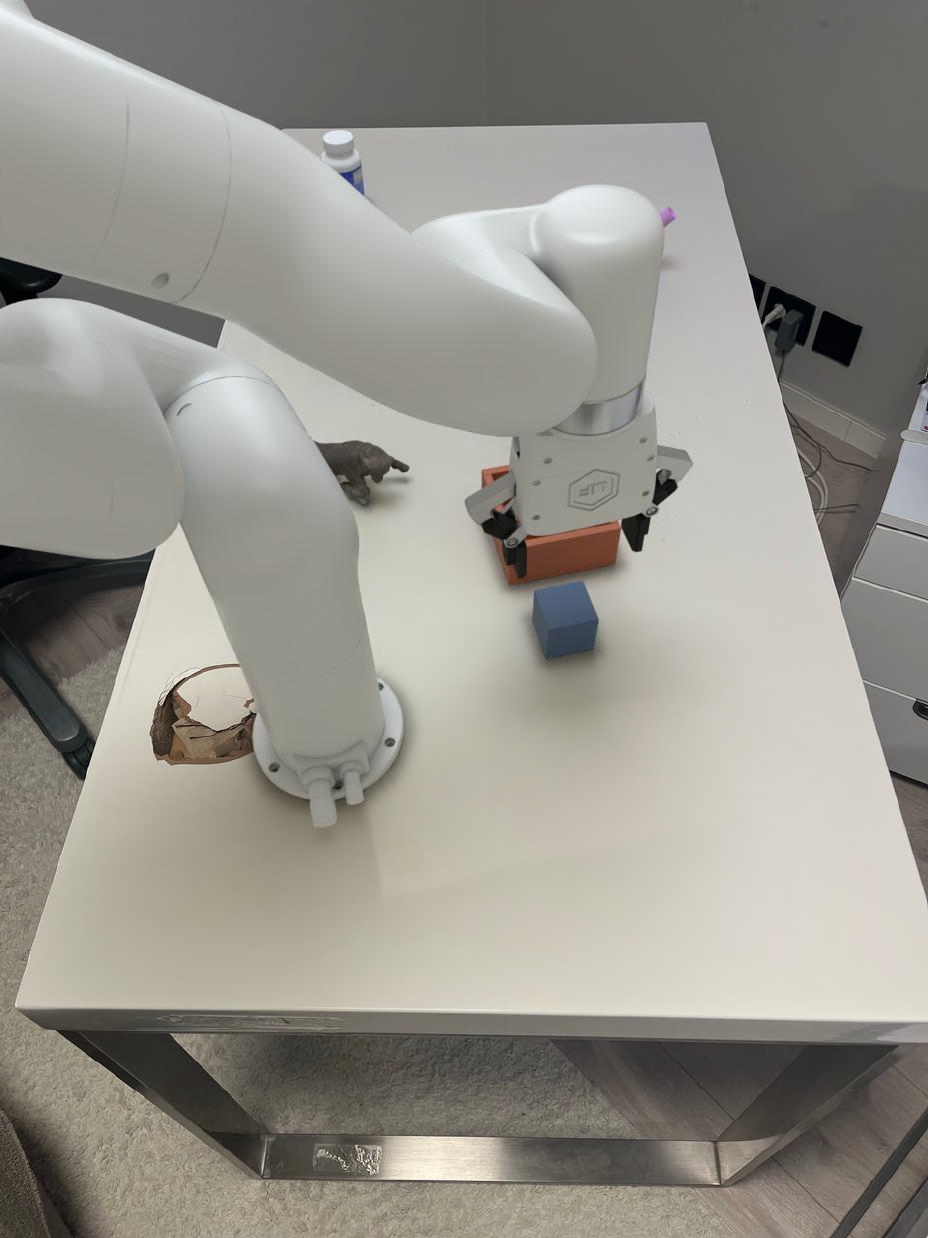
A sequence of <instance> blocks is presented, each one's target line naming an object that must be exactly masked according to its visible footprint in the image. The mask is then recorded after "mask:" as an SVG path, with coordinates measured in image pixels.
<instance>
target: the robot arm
mask: <svg viewBox="0 0 928 1238" xmlns="http://www.w3.org/2000/svg"><path fill="white" fill-rule="evenodd" d="M664 246H665V228H664V226H663V222H662V218H661V216H660V211H659V210H658V209H657V207H656V206H655V205H654V204H653V202H652V201H651V200H649V199H648V197H646V196H644V195H642V194H640V193H639V192H638V191H636V190H632V189H630V188H628V187H623V186H621V185H613V184H605V183H604V184H603V183H596V184H595V183H594V184H585V185H579V186H575V187H572V188H569V189H566V190H564V191H562V192H560V193H558V194H556V195H555V196H553V197H551V198H550V199H548V200H547V201H546V202H544V203H537V204H531V205H530V204H529V205H524V206H516V207H515V206H514V207H505V208H495V209H494V208H493V209H483V210H482V209H481V210H474V211H473V210H472V211H465V212H457V213H453V214H448V215H445V216H440V217H437V218H435V219H432V220H430V221H428V222H425V223H423V224H422V225H420V226H419V227H417V228H415V229H414V230H413V231H412V232H408V231H407V230H405V229H404V228H403V227H401V226H400V225H399V224H397V223H396V222H395V221H394V220H392V218H390V217H389V216H388V215H386V214H385V213H384V212H382V210H380V209H379V208H378V207H377V206H376V205H374V203H372V202H371V201H370V200H369V199H368V198H367V197H366V196H365V197H364V196H363V195H362V194H361V193H360V192H359V191H358V190H356V189H355V188H354V187H353V186H352V185H351V184H350V183H349V182H348V181H347V180H345V179H344V178H343V177H342V176H341V175H340V174H339V173H338V172H336V171H335V170H334V169H333V168H332V167H330V166H329V165H328V164H327V163H326V162H325V161H323V160H322V159H321V157H319V156H318V155H317V154H316V153H314V151H311V149H309V148H307V147H306V146H304V145H303V144H302V143H300V142H299V141H298V140H296V139H295V138H294V137H292V136H290V135H289V134H287V133H286V132H284V131H283V130H280V128H277V127H276V126H274V125H272V124H270V123H267V122H265V121H264V120H261V119H259V118H256V117H254V116H252V115H249V114H247V113H244V112H242V111H239V110H238V109H235V108H234V107H230V106H228V105H226V104H224V103H221V102H219V101H217V100H215V99H213V98H211V97H208V96H206V95H204V94H201V93H199V92H197V91H194V90H192V89H190V88H188V87H186V86H184V85H182V84H179V83H177V82H174V81H172V80H170V79H168V78H166V77H163V76H161V75H159V74H157V73H155V72H152V71H150V70H148V69H146V68H143V67H141V66H139V65H136V64H135V63H132V62H129V61H127V60H125V59H124V58H121V57H118V56H117V55H114V54H113V53H111V52H108V51H106V50H104V49H102V48H100V47H98V46H95V45H93V44H91V43H88V42H86V41H84V40H81V39H79V38H77V37H75V36H72V35H70V34H68V33H66V32H64V31H61V30H59V29H57V28H55V27H52V26H50V25H48V24H46V23H44V22H43V21H40V20H38V19H36V18H35V17H34V16H33V14H32V12H31V11H30V9H29V7H28V5H27V4H26V2H25V1H24V0H0V258H3V259H6V260H10V261H13V262H16V263H17V262H18V263H21V264H24V265H28V266H32V267H35V268H40V269H43V270H46V271H50V272H54V273H56V274H57V273H58V274H61V275H65V276H68V277H72V278H76V279H81V280H84V281H87V282H91V283H95V284H98V285H102V286H106V287H108V288H109V287H110V288H112V289H117V290H120V291H123V292H127V293H131V294H135V295H138V296H143V297H146V298H148V299H152V300H156V301H160V302H164V303H166V304H170V305H174V306H178V307H181V308H185V309H188V310H193V311H195V312H200V313H203V314H205V315H209V316H213V317H216V318H219V319H222V320H225V321H227V322H231V323H233V324H235V325H237V326H239V327H241V328H242V329H244V330H246V331H248V332H249V333H251V334H253V335H254V336H255V337H257V338H259V339H260V340H262V341H264V342H265V343H266V344H268V345H270V346H271V347H273V348H275V349H276V350H278V351H280V352H281V353H283V354H284V355H287V356H289V357H291V358H292V359H294V360H296V361H298V362H300V363H302V364H304V365H306V366H308V367H309V368H311V369H314V370H316V371H317V372H320V373H321V374H323V375H325V376H327V377H329V378H331V379H333V380H334V381H336V382H337V383H340V384H341V385H343V386H345V387H347V388H350V389H351V390H353V391H354V392H356V393H358V394H361V395H363V396H364V397H366V398H368V399H370V400H371V401H374V402H376V403H378V404H380V405H383V406H384V407H387V408H389V409H391V410H393V411H395V412H397V413H401V414H403V415H406V416H409V417H412V418H414V419H416V420H420V421H423V422H426V423H429V424H434V425H438V426H443V427H446V428H451V429H456V430H459V431H464V432H468V433H473V434H478V435H483V436H490V437H497V438H511V444H510V454H509V464H508V465H509V473H507V474H505V475H504V476H502V477H500V478H499V479H497V480H495V481H494V482H492V483H490V484H489V485H487V486H485V487H484V488H482V487H481V488H480V489H479V490H477V491H476V492H473V493H472V494H470V495H469V496H467V497H466V498H465V499H464V506H465V508H466V511H467V514H468V516H469V517H470V518H471V519H472V520H473V521H474V522H475V524H477V525H478V526H480V528H481V529H482V531H483V533H484V534H485V535H489V536H491V537H492V536H493V537H495V538H498V539H500V540H502V552H503V557H504V560H505V563H506V565H507V566H510V565H513V566H514V569H515V572H516V574H517V577H518V579H521V578H525V576H527V546H526V543H525V540H524V538H525V537H526V536H527V535H528V534H530V535H534V536H545V535H552V534H557V533H562V532H567V531H572V530H576V529H581V528H585V527H590V526H594V525H599V524H603V523H607V522H612V521H616V520H618V521H620V520H621V521H620V526H621V531H622V533H623V535H624V536H625V539H626V541H627V543H628V545H629V547H630V550H631V551H632V552H634V553H640V552H642V551H643V547H644V542H645V541H644V540H645V537H646V536H647V535H648V534H649V531H650V526H651V520H652V517H654V516H655V515H657V514H658V513H659V511H660V507H659V506H660V504H662V503H663V502H664V501H665V500H667V499H668V498H669V497H670V496H671V495H673V494H674V493H675V492H676V491H677V489H678V488H679V486H678V483H679V482H682V480H683V479H684V478H685V476H686V475H687V474H688V472H690V470H691V468H692V467H693V466H694V462H693V460H692V459H691V456H690V455H689V453H688V451H687V450H685V449H681V448H675V447H672V446H671V447H670V446H665V445H661V444H658V427H657V413H656V407H655V406H656V405H655V400H654V398H653V395H652V394H651V393H650V391H649V390H648V389H647V387H646V381H647V380H646V379H647V371H648V365H649V364H648V363H649V357H650V349H651V343H652V335H653V328H654V320H655V314H656V313H655V312H656V308H657V307H656V305H657V299H658V292H659V285H660V279H661V278H660V277H661V269H662V262H663V255H664V248H665V247H664ZM313 440H314V439H313V438H312V436H311V435H310V434H309V432H308V430H307V428H306V427H305V425H304V424H303V422H302V421H301V419H300V417H299V415H298V414H297V412H296V411H295V408H294V407H293V406H292V404H291V402H290V401H289V399H288V398H287V396H286V395H285V393H284V392H283V390H282V389H281V388H280V387H279V385H278V384H277V383H276V382H275V381H274V380H273V378H271V376H269V375H268V374H267V373H266V372H265V371H264V370H263V369H260V367H258V366H256V365H254V364H253V363H251V362H249V361H248V360H245V359H243V358H241V357H239V356H237V355H234V354H232V353H229V352H227V351H224V350H222V349H219V348H216V347H213V346H211V345H208V344H206V343H203V342H200V341H198V340H195V339H192V338H190V337H187V336H184V335H182V334H179V333H175V332H174V331H171V330H168V329H166V328H162V327H160V326H156V325H154V324H152V323H149V322H146V321H143V320H141V319H138V318H135V317H133V316H130V315H127V314H125V313H121V312H119V311H116V310H113V309H111V308H108V307H104V306H102V305H98V304H95V303H91V302H88V301H83V300H79V299H72V298H60V297H59V298H58V297H39V298H32V299H25V300H21V301H17V302H14V303H10V304H8V305H6V306H4V307H1V308H0V546H6V547H7V546H8V547H13V548H19V549H26V550H32V551H39V552H44V553H51V554H57V555H58V554H59V555H63V556H71V557H78V558H85V559H94V560H119V559H120V560H121V559H129V558H133V557H137V556H142V555H144V554H147V553H149V552H151V551H153V550H155V549H156V548H158V547H160V546H161V545H162V544H163V543H165V542H167V540H168V539H169V538H170V537H171V536H172V535H173V534H174V532H175V531H176V529H177V527H178V525H179V524H180V528H181V530H182V532H183V534H184V537H185V539H186V541H187V543H188V546H189V549H190V551H191V553H192V556H193V559H194V561H195V563H196V566H197V569H198V571H199V574H200V575H201V577H202V580H203V583H204V585H205V587H206V589H207V593H208V594H209V596H210V598H211V600H212V603H213V605H214V608H215V609H216V612H217V615H218V617H219V620H220V622H221V625H222V627H223V630H224V632H225V635H226V637H227V640H228V643H229V644H230V647H231V649H232V652H233V653H234V655H235V658H236V660H237V663H238V665H239V667H240V670H241V672H242V675H243V677H244V679H245V682H246V684H247V687H248V689H249V692H250V695H251V697H252V699H253V701H254V704H255V706H256V709H257V713H256V716H255V718H254V722H253V725H252V733H251V734H252V736H251V737H252V748H253V751H254V754H255V757H256V761H257V763H258V764H259V766H260V768H261V770H262V772H263V773H264V775H265V776H266V777H267V778H268V780H269V781H270V782H271V783H273V785H275V786H276V787H277V788H279V789H280V790H282V791H283V792H285V793H287V794H289V795H292V796H294V797H297V798H301V799H303V800H308V801H310V802H309V807H310V808H309V809H310V816H311V823H312V827H315V828H319V829H325V828H329V827H332V826H334V825H335V824H337V823H338V813H337V805H336V800H339V799H343V798H345V802H346V804H347V805H351V806H356V805H360V804H361V803H363V802H365V801H364V800H365V796H364V790H366V789H367V788H369V787H371V786H372V785H373V784H375V783H376V782H377V781H379V780H380V779H381V778H382V777H383V776H384V775H385V773H387V772H388V771H389V769H390V768H391V767H392V765H393V764H394V762H395V761H396V759H397V757H398V754H399V752H400V751H401V748H402V744H403V739H404V736H405V735H404V734H405V722H404V715H403V710H402V707H401V704H400V701H399V699H398V696H397V695H396V694H395V692H394V690H393V689H392V688H391V686H390V685H389V684H388V683H387V682H386V681H385V680H384V679H382V678H381V677H379V676H378V675H377V671H376V665H375V660H374V656H373V650H372V645H371V639H370V634H369V633H370V632H369V629H368V624H367V619H366V612H365V609H364V605H363V600H362V593H361V587H360V581H359V558H360V557H359V556H360V534H359V527H358V524H357V521H356V518H355V515H354V512H353V509H352V507H351V504H350V503H349V500H348V498H347V496H346V494H345V491H344V490H343V489H342V488H341V486H340V483H339V481H338V479H337V477H336V475H334V474H333V472H332V470H331V469H330V467H329V465H328V464H327V462H326V461H325V459H324V457H323V456H322V454H321V452H320V451H319V449H318V447H317V446H316V444H315V442H314V441H315V440H314V441H313ZM657 469H659V470H658V471H657ZM512 497H513V499H512V500H511V501H510V502H509V503H508V504H507V505H506V506H505V507H504V508H503V509H502V510H501V511H500V512H498V511H496V510H494V508H495V507H497V506H499V505H501V504H502V503H504V502H506V501H507V500H509V499H511V498H512ZM517 517H519V521H517V520H516V518H517ZM493 537H492V538H493ZM338 788H339V789H338Z"/></svg>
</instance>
